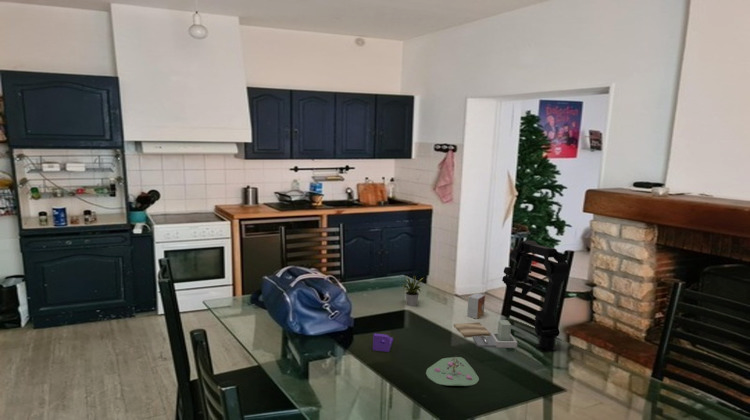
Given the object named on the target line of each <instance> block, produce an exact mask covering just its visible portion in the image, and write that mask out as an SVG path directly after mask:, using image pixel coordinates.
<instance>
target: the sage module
mask: <svg viewBox="0 0 750 420" xmlns="http://www.w3.org/2000/svg"><path fill="white" fill-rule="evenodd" d="M497 324H498V325H497V333H498V335H497V340H498V341H510V333H511V329H512V324H511V323H510V322H509V320H505V319H499V320H498V323H497Z"/></svg>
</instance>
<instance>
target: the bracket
mask: <svg viewBox="0 0 750 420" xmlns="http://www.w3.org/2000/svg"><path fill="white" fill-rule="evenodd" d="M393 342H394V337H391V336H390V335H388V334H385V333H384V334H383V333H373V336H372V351H377V352H386V353H389V352H390V349H391V347H392V345H393Z"/></svg>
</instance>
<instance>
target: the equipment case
mask: <svg viewBox="0 0 750 420" xmlns="http://www.w3.org/2000/svg"><path fill="white" fill-rule="evenodd" d="M497 335H498V332H490V336H484V335H481V336H473V337H472V339H473V341H474V343H475V344H476V347H477V348H500V349H501V348H505V349H506V348H509V349H515V348H518V341H517V340H516V338H515V337H514V336H513V334H512V333H511V332H510V341H498V340H497Z"/></svg>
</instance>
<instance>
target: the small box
mask: <svg viewBox="0 0 750 420" xmlns="http://www.w3.org/2000/svg"><path fill="white" fill-rule="evenodd" d="M485 298H486V295H485V294H481V293H477V292H474V293H473V294H472V295H469V296H468V298H467V299H468V300H467V313H466V314H467V315H466V316H467V317H468V318H473V319H475V320H476V319H479V318H480V317H483V316H484V313H485V312H484V311H485V301H486V299H485Z"/></svg>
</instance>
